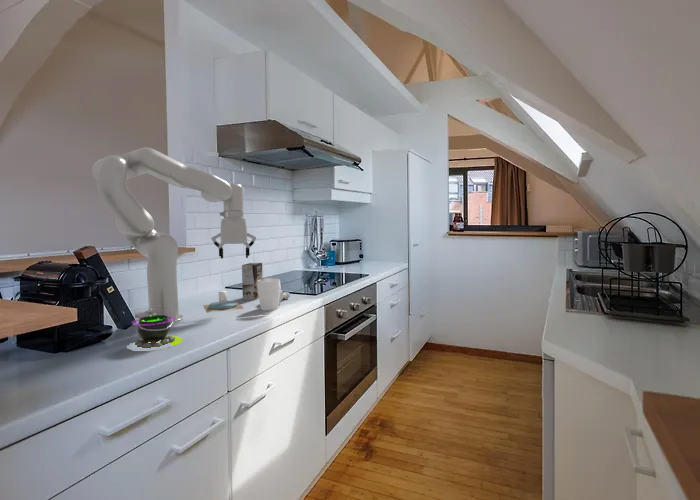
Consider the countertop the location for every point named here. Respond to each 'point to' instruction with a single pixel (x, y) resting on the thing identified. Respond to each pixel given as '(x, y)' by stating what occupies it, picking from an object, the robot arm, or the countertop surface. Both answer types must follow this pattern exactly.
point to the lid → (222, 302)
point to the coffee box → (251, 280)
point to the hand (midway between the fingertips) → (234, 258)
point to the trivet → (222, 310)
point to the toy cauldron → (155, 331)
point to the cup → (269, 293)
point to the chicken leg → (283, 295)
